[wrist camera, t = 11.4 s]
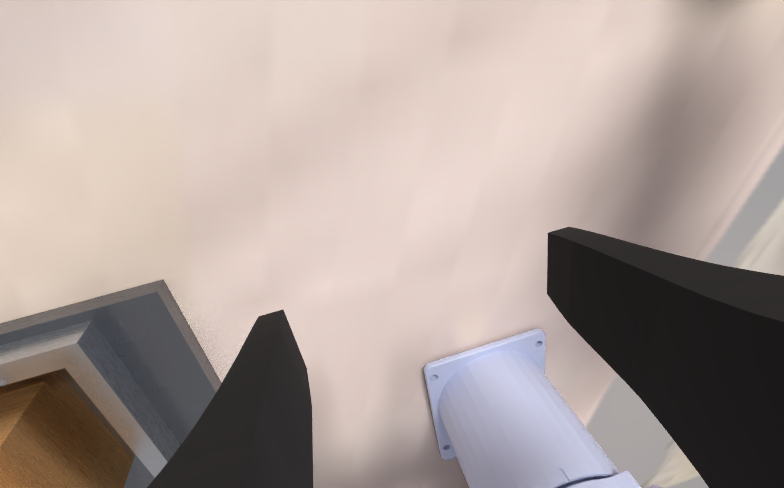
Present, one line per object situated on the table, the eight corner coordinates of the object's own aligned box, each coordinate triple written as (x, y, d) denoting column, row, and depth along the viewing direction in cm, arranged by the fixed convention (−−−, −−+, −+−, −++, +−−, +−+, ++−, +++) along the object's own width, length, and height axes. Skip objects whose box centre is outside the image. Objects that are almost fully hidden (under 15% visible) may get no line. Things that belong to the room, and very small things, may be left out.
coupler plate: (253, 440, 24) (250, 479, 22) (-33, 533, 23) (-67, 586, 20) (163, 279, 19) (147, 312, 16) (-235, 387, 17) (-312, 439, 15)
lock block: (133, 459, 22) (96, 564, 17) (35, 491, 21) (-28, 609, 17) (50, 363, 18) (-23, 466, 14) (-71, 399, 18) (-187, 519, 13)
